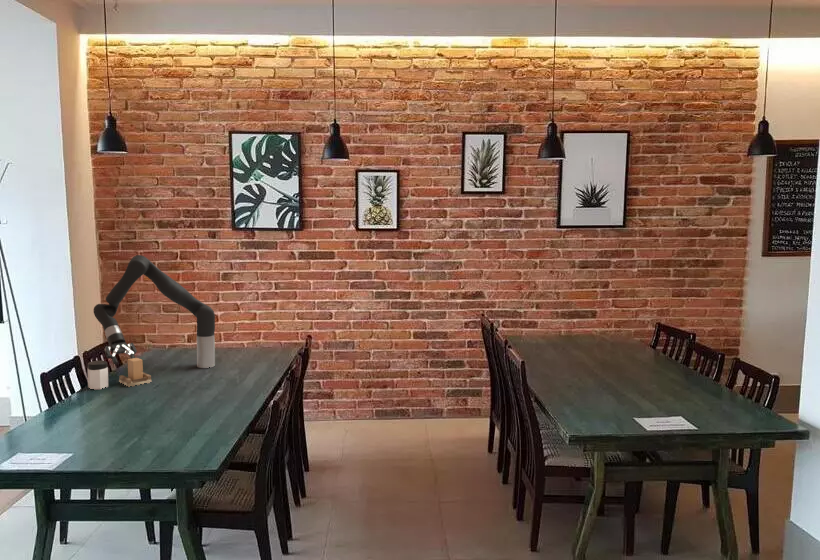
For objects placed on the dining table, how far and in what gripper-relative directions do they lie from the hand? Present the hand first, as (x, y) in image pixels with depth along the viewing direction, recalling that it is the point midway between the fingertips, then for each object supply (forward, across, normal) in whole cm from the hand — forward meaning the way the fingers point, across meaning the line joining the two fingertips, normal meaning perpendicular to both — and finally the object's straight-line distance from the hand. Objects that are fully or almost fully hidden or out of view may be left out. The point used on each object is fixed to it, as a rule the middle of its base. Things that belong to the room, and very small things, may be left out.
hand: (125, 362), depth 294 cm
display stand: (+14, -1, -3) cm, 14 cm away
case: (+13, 0, -4) cm, 13 cm away
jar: (+11, -16, +1) cm, 19 cm away
